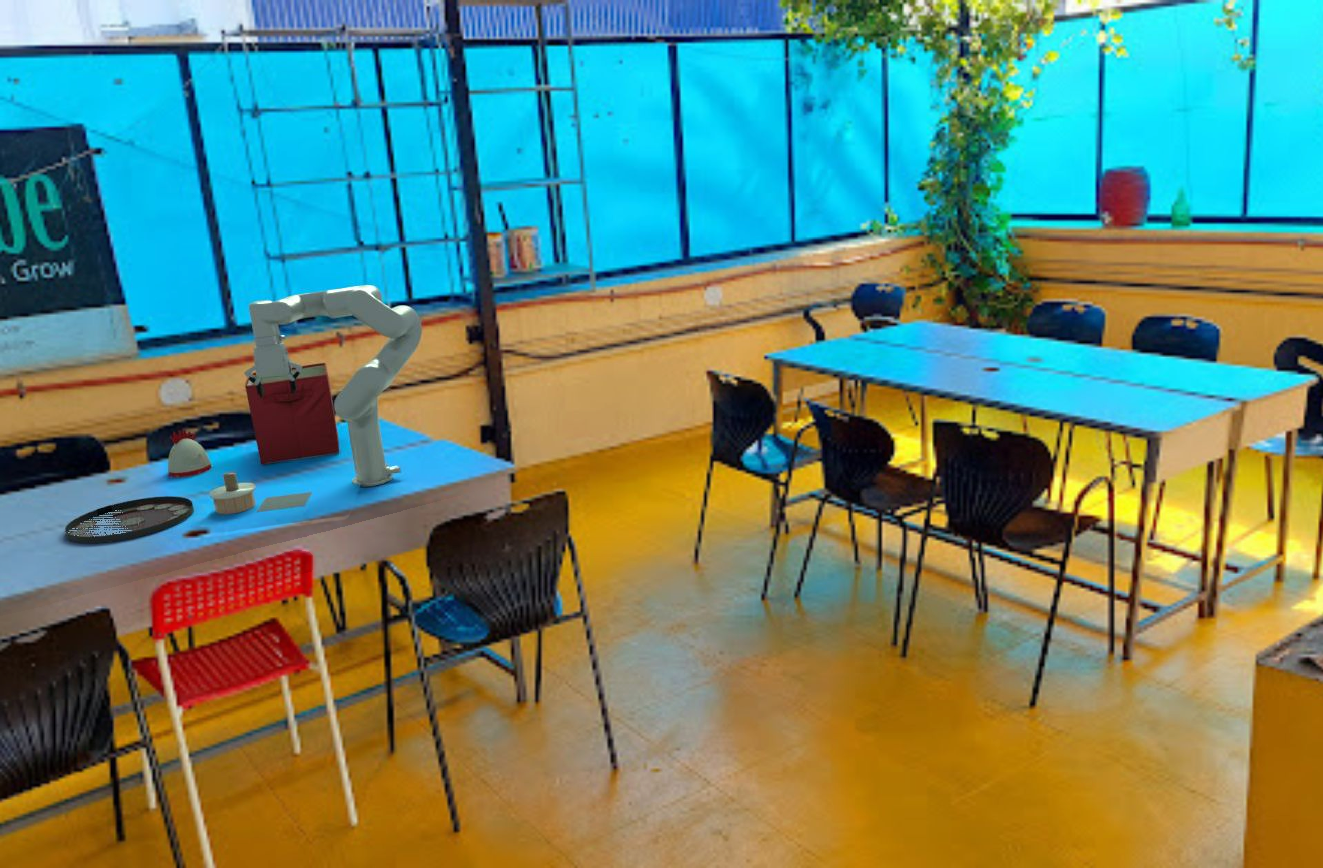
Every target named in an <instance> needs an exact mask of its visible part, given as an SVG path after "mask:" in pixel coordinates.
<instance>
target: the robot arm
mask: <svg viewBox="0 0 1323 868" xmlns="http://www.w3.org/2000/svg"><path fill="white" fill-rule="evenodd" d="M248 311H249V316H250V322H251V326H252V333H253V338H254V343H255V346H253V360H254V365H252V367H250V368H248V369H247V370H246V371H244V372H243V373H244V375H245V376H246V378H248V379H249V380H250V381H251V382H252V383H254V384H255V385H256V388H257V393H258V395H260V398H261V397H263V396H264V391H263V385H262V383H261V380H262V379H263V378H273V377H281V376H287V377H288V378H289V379H290V387H291V393H292V394H294V393H295V392H296V390H297V386H296V380H295V379H296V378H297V377H298V375H299V374H300V372H301V369H302V366H303V365H302V364H300V363H297V362H294V361H291V360H290V357H289V352H288V349H287V346H286V345H285V342H282V341H285V340H286V335H282V334H281V333H280V328H279V325H283V326H284V325H289V324H292V323H293V322H296V321H298V320H302V319H306V318H312V317H321V316H322V317H323V316H324V317H329V318H331V319H336V318H337V319H338V318H343V317H349V316H353V317H354V318H356V319H357V320H359V321H360V322H362V323H363V324H364V325H366V326H367V327H369V328H371V329H372V330H374V331H375V332H377V334H380V335H382V336H383V337H384V338H388V340H387V341H386V342H385V344H384V345H383V346H382V347H381V349H380V350H379V351H378V353H377V354H376V355H375V356H374V357H373V358H372V359H371V360H370V361H368V362H367V363H365V364H364V365H362V366H361V367H360V368H358V369H357V371H356V372H355V373H354V375H352V376H351V378H350V379H349V381H348V382H347V384H345V386H344V387H343V388H342V389H341V390H340V392H339V393H338V395H337V396H336V397H335V399H334V402H333V408H334V413H335V414H336V416H338V418H339V419H341V420H343V421H345V422H347V428H348V429H347V430H348V436H349V442H350V447H351V448H350V449H351V454H352V460H353V465H354V470H355V471H354V472H355V477H354V478H352V480H351V482H352V484H354V485H359V487H360V488H363V487H364V488H366V487H368V488H369V487H374V486H379V485H382V484H383V485H384V484H385V483H387V482H389V481H392V479H394V477H393V474H401V472H402V470H401V466H398V465H395V466H389V465H388V463H387V462H386V460H385V452H384V447H383V440H382V434H381V428H380V420H379V408H378V407H379V404H378V401H379V400H378V397H379V396H380V395H381V394H382V393H383V391H385V390H386V389H387V388H389V387H390V385H391V384H392V383H393V382H394V381H395V378H396V377H397V375H398V374H399V373H400V372H401V371H402V369H403V368H404V366H405V365H406V364H407V362H409V360H410V358H412V356H413V355H414V354H415V352H416V350H417V349H418V346H419V345H420V342H421V339H422V333H423V327H422V323H421V319H420V316H419V315H418V312H417V311H416V310H414V309H413V307H410V306H408V305H397V306H395V307H392V308H390V306H388V305H386V304H385V303H384V302H383V294H382V292H381V290H380V289H379V288H378V287H376V286H375V285H369V284H365V285H356V286H350V287H344V288H343V287H342V288H337V289H336V288H335V289H328V290H323V291H316V292H307V293H300V294H294V295H289V296H287V297H284V298H281V299H279V300H276V301H271V300H269V299H267V300H266V299H265V300H256V301H253V302H251V303H250V304H249V306H248ZM292 367H294V368H296V373H295V374H292V373H291V371H292V369H291V368H292ZM254 371H255V372H256V375H257V377H258V378H257V379H256V378H254V377H253V376H252V375H251V373H254Z"/></svg>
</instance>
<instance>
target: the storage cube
mask: <svg viewBox="0 0 1323 868" xmlns="http://www.w3.org/2000/svg"><path fill="white" fill-rule="evenodd" d="M291 369H292V371H291V373H292V374H295V373H296V368H294V367H291ZM251 375H252V376H253V377H254V378H256V379H257V378H258V377H257V375H256V371H255V372H251ZM246 378H247V377H246ZM295 380H296V386H297V390H296V392H295V393H294V394H292V393H291V387H290V379H289V378H288V377H287V376H281V377H273V378H263V379H262V380H261V383H262V385H263V391H264V396H263V397H261V398H260V395H258V393H257V388H256V385H255V384H254V383H252V382H251V381H250V380H249V379H248V378H247V379H246V381H245V383H244V388H245V392H246V396H247V397H246V398H247V401H248V407H249V410H250V411H249V412H250V416H251V417H250V418H251V422H252V426H253V432H254V437H255V441H256V446H257V447H256V448H257V452H258V456H259V457H258V458H259V462H260V465H262V466H265V465H269V464H273V463H279V462H289V461H294V460H302V459H308V458H314V457H315V458H316V457H322V456H323V457H324V456H329V455H336V454H339V453H340V443H339V440H340V439H339V431H338V427H337V420H336V415H335V414H336V413H335V409H334V402H333V397H332V396H333V395H332V389H331V384H330V378H329V373H328V367H327V363H326V362H320V363H313V364H312V363H311V364H307V365H306V364H305V365H302V369H301V372H300V374H299V375H298V377H297V378H296V379H295Z"/></svg>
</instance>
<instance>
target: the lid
mask: <svg viewBox="0 0 1323 868" xmlns="http://www.w3.org/2000/svg"><path fill="white" fill-rule="evenodd" d="M222 476H223V477H222V478H223V481H224V482H223V483H224V485H223V486H220V487H217V488H214V489H212V490H211V491H210V492H209V498H211V499H229V498H235V497H239V496H243V495H246V494H249V493H251V492H253V493H254V491H255V490H256V488H257V487H256V484H255V483H252V482H238V477H237V473H236V472H235V471H228V472H226V473H223V474H222Z"/></svg>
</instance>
